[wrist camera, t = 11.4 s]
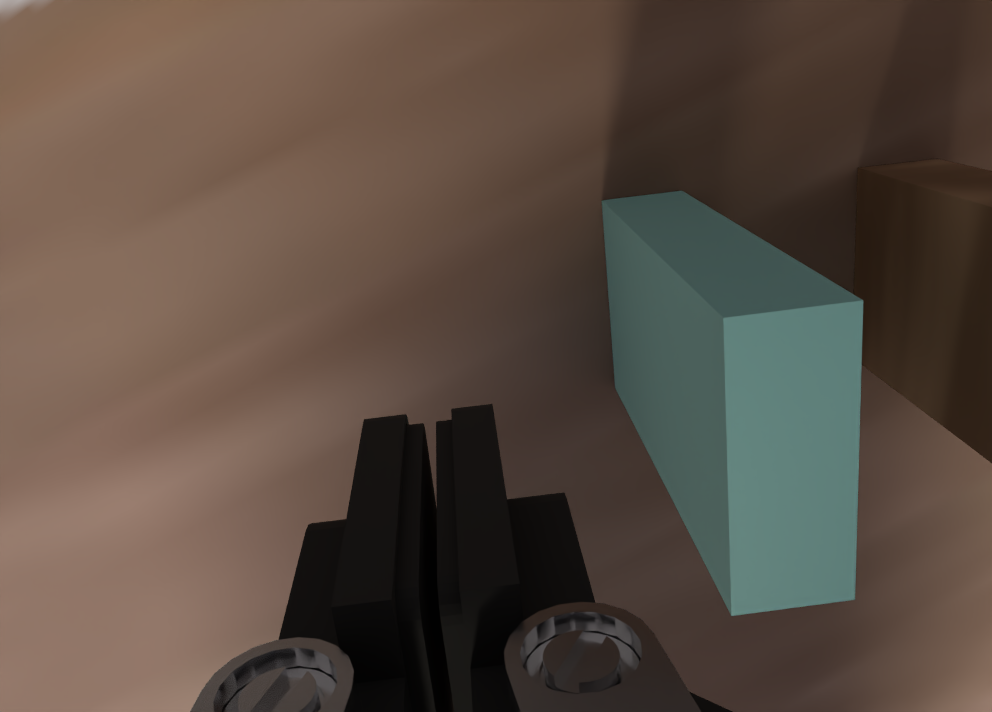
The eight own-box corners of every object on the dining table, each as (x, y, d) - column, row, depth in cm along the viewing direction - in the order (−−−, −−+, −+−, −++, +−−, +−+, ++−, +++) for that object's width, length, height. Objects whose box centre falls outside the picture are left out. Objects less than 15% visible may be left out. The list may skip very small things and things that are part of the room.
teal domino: (681, 190, 22) (863, 299, 13) (689, 378, 24) (854, 600, 14) (601, 200, 22) (723, 318, 13) (615, 388, 24) (731, 615, 14)
